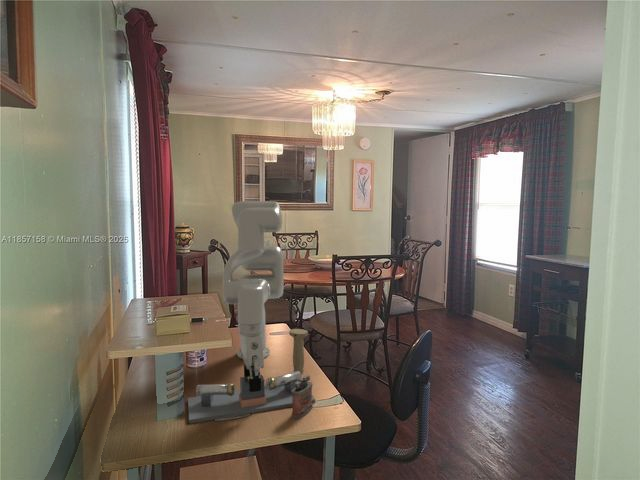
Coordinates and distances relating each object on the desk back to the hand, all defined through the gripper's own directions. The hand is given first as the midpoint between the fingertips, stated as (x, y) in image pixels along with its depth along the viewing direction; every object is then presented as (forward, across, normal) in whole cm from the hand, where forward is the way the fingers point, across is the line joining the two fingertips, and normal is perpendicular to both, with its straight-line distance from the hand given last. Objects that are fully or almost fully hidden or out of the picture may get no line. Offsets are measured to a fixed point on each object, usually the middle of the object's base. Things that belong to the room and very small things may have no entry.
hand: (252, 383), depth 121 cm
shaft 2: (+7, +2, -10) cm, 12 cm away
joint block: (+4, 0, 0) cm, 4 cm away
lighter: (+7, -9, -13) cm, 17 cm away
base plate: (+6, +2, 0) cm, 7 cm away
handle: (+7, +17, -19) cm, 26 cm away
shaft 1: (+6, +2, +10) cm, 12 cm away
